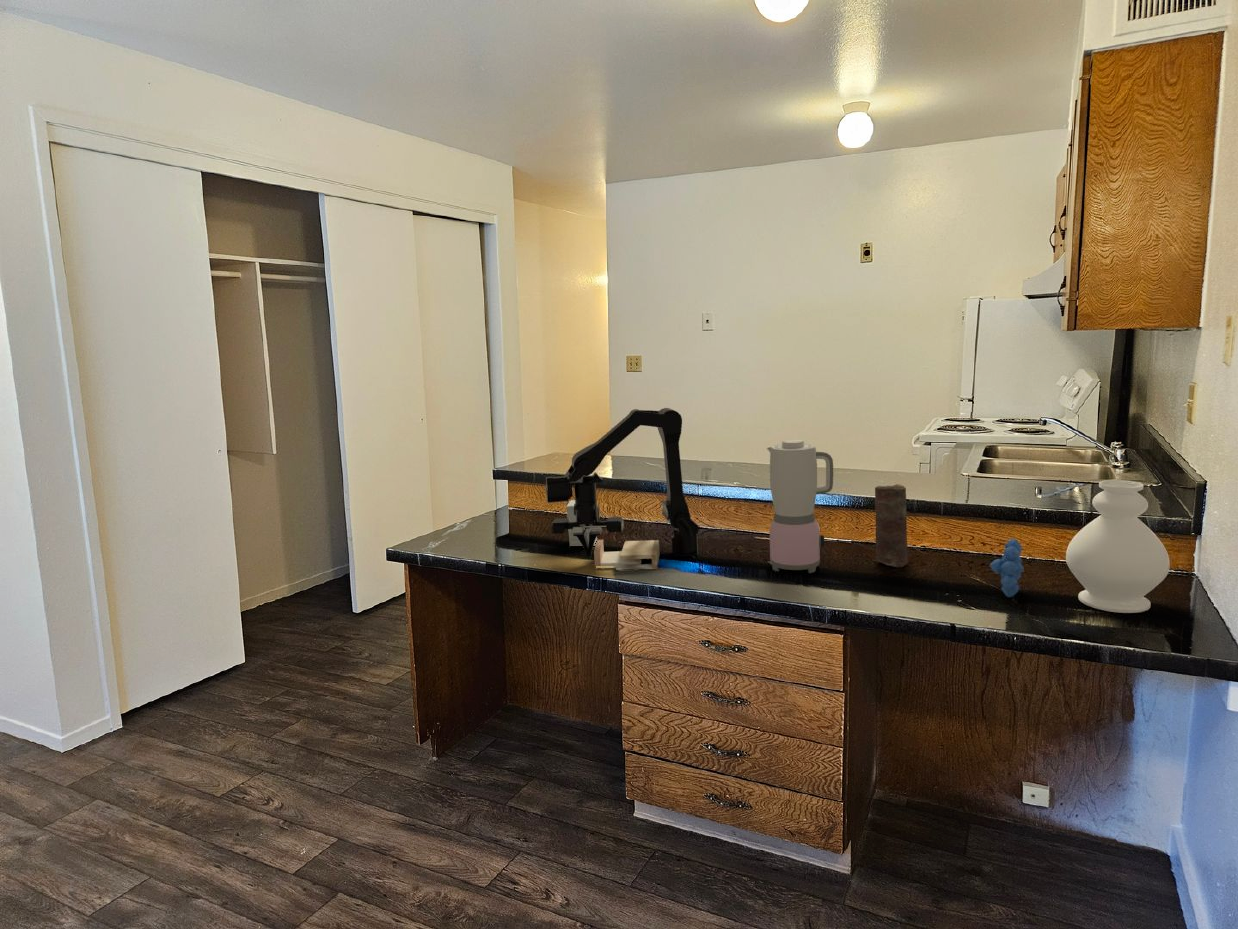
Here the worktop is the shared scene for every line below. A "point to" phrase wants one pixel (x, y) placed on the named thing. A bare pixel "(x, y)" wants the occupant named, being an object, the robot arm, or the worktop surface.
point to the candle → (891, 525)
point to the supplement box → (572, 518)
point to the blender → (796, 505)
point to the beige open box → (640, 553)
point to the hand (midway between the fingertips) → (589, 556)
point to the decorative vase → (1118, 552)
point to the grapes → (1009, 567)
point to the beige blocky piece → (610, 557)
